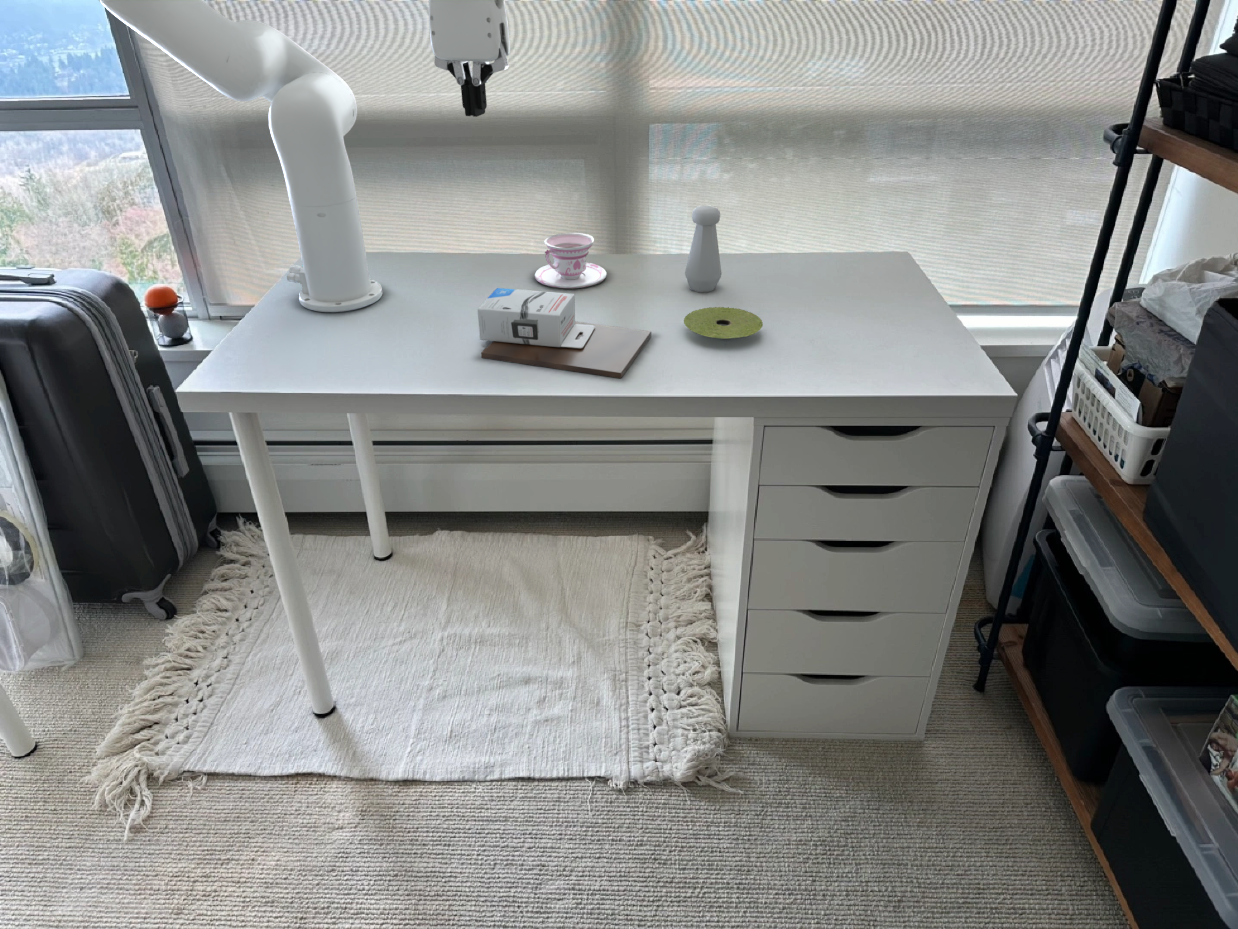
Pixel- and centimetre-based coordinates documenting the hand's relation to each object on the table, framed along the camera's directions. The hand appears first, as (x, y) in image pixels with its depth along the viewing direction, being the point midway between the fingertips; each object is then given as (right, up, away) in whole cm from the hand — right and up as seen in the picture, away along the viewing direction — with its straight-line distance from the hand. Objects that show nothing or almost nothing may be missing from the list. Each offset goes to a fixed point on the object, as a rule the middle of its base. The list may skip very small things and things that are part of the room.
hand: (475, 114), depth 121 cm
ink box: (+1, -28, 0) cm, 28 cm away
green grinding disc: (+35, -31, +2) cm, 47 cm away
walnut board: (+13, -33, -1) cm, 36 cm away
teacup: (+12, -18, +22) cm, 31 cm away
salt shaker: (+34, -21, +18) cm, 44 cm away
